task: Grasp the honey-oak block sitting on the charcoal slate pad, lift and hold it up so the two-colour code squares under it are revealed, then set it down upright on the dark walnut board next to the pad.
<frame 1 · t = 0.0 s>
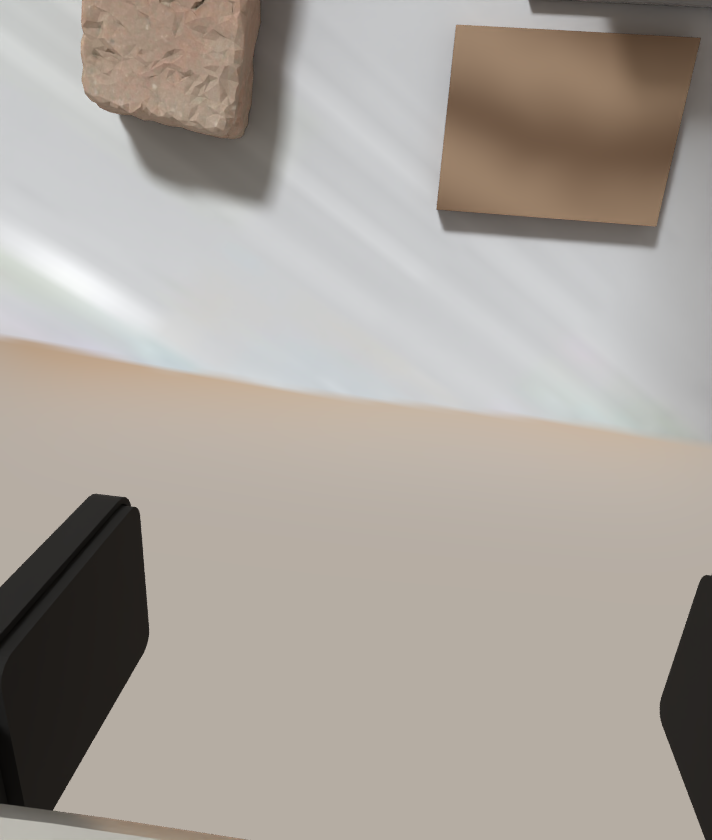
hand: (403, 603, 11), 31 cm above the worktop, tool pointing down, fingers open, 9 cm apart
walnut board: (556, 129, 36), on the worktop
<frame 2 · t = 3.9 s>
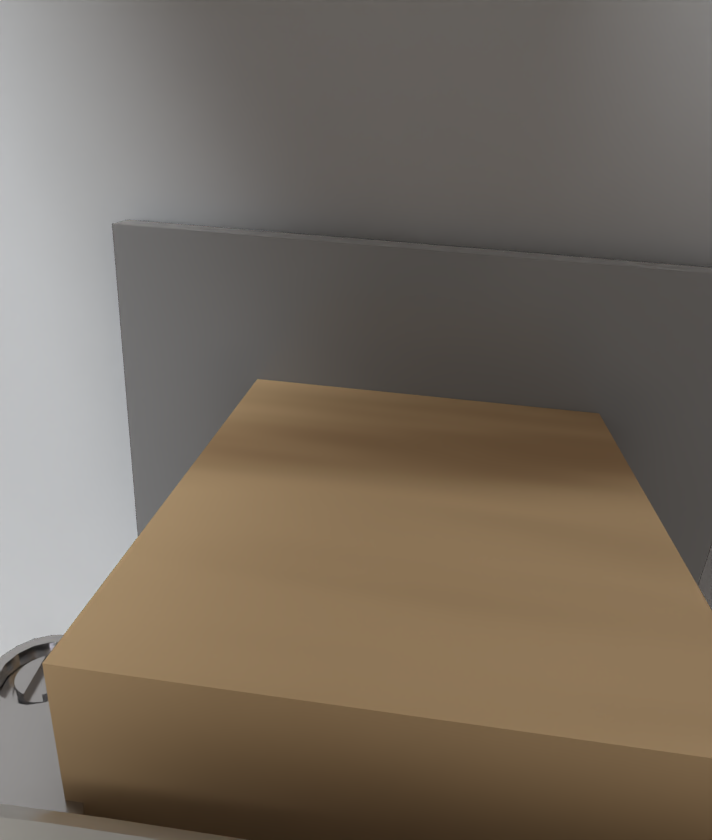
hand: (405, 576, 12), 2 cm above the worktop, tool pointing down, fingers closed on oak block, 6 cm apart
oak block: (408, 539, 13), point 1 cm above the worktop, touching code pad, gripper
code pad: (409, 522, 13), on the worktop
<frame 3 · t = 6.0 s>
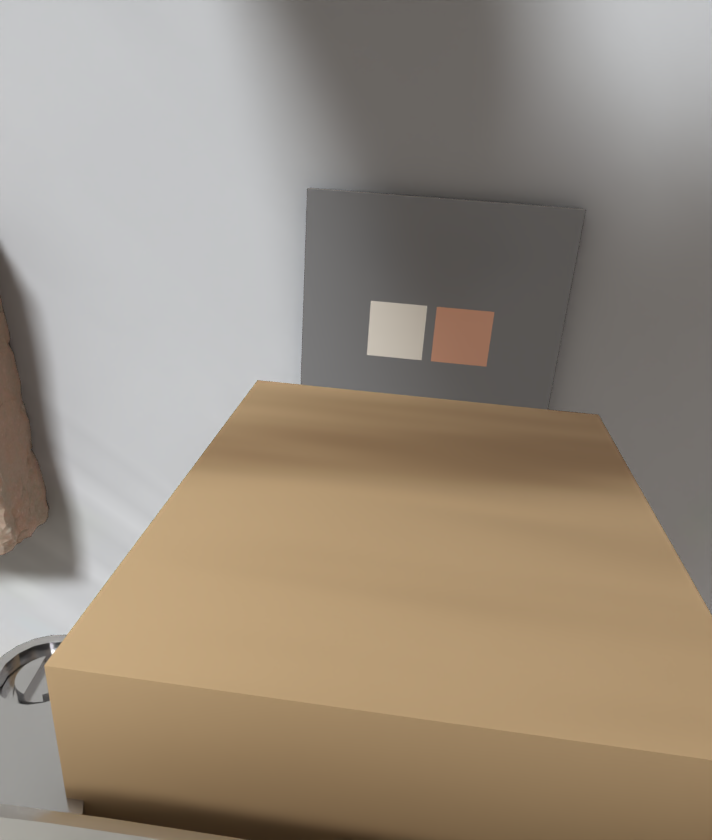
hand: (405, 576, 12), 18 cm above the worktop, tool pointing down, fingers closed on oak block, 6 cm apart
oak block: (408, 540, 13), point 17 cm above the worktop, touching gripper
code pad: (429, 330, 29), on the worktop
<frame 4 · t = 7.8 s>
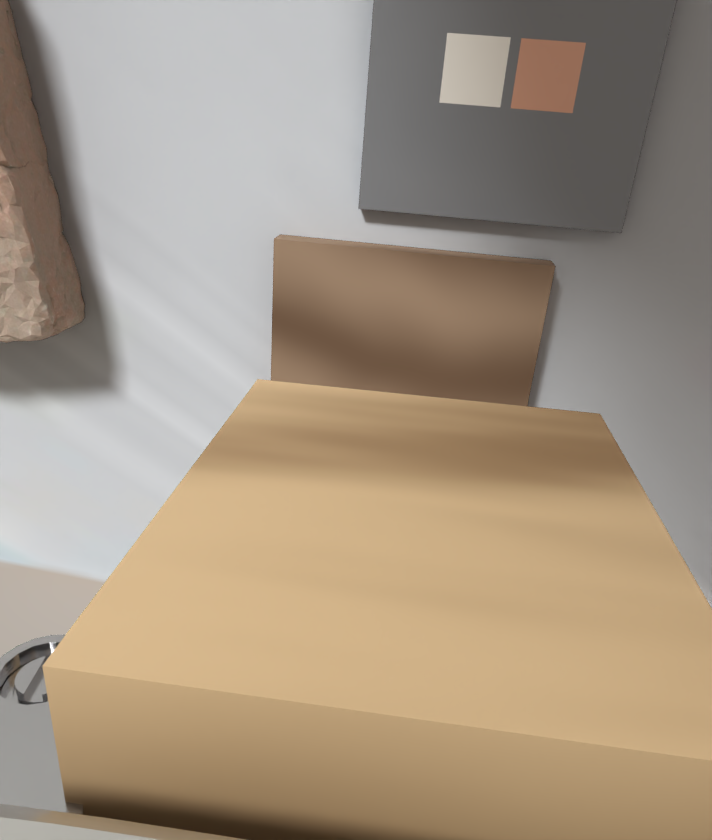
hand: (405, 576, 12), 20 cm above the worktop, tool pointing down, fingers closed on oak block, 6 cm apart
oak block: (409, 539, 13), point 19 cm above the worktop, touching gripper
code pad: (509, 74, 26), on the worktop
walnut board: (402, 344, 31), on the worktop
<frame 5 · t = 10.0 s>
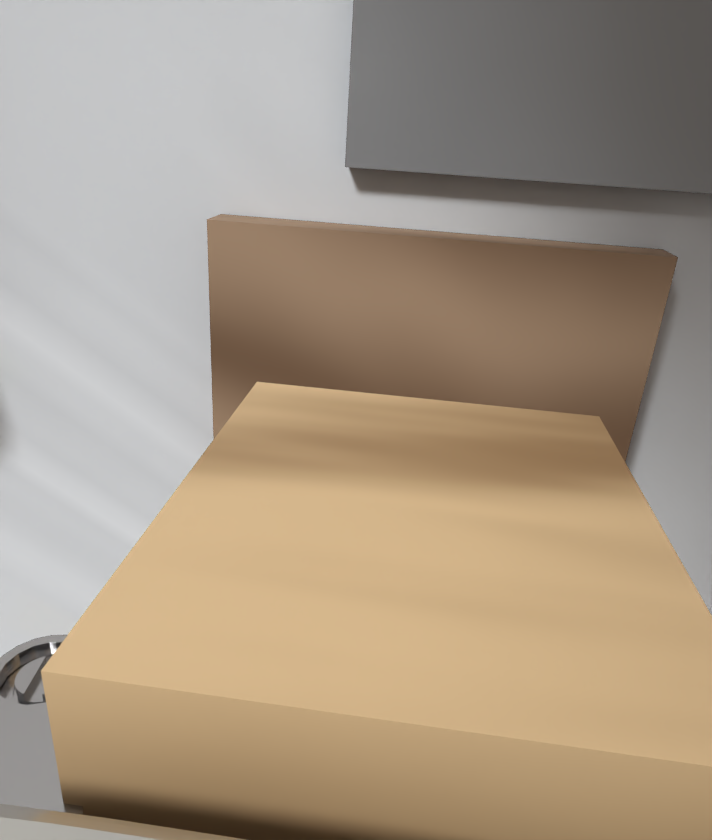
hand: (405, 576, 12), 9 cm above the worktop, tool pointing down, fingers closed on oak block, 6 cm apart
oak block: (408, 542, 13), point 8 cm above the worktop, touching gripper
walnut board: (419, 385, 20), on the worktop
when the fingers open (4 cm above the worktop, at t = 11.9 s): oak block drops 1 cm, resting on walnut board.
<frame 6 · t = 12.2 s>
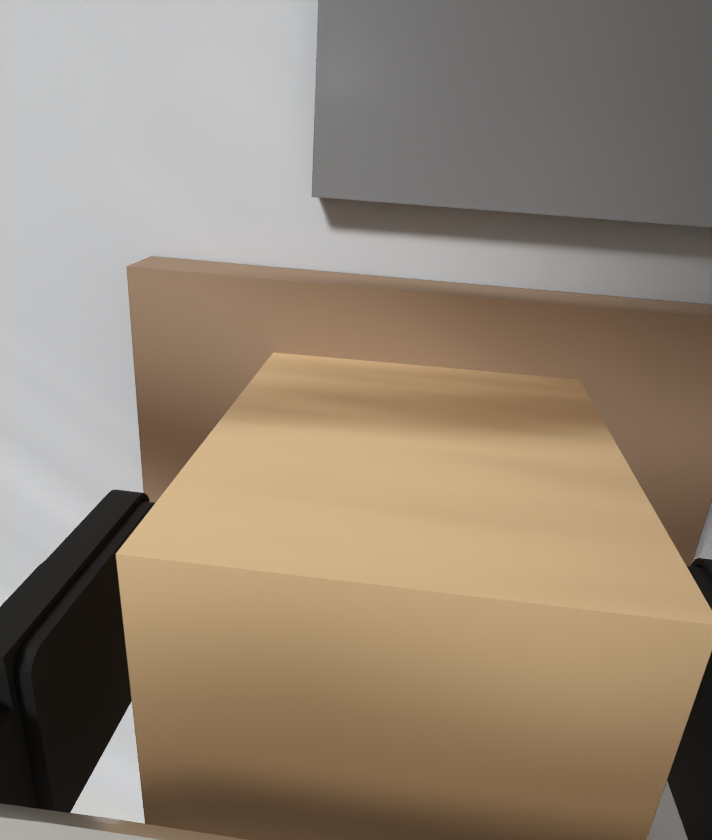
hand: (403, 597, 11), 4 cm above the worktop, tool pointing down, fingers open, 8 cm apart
oak block: (409, 498, 14), point 1 cm above the worktop, touching walnut board
walnut board: (413, 475, 15), on the worktop
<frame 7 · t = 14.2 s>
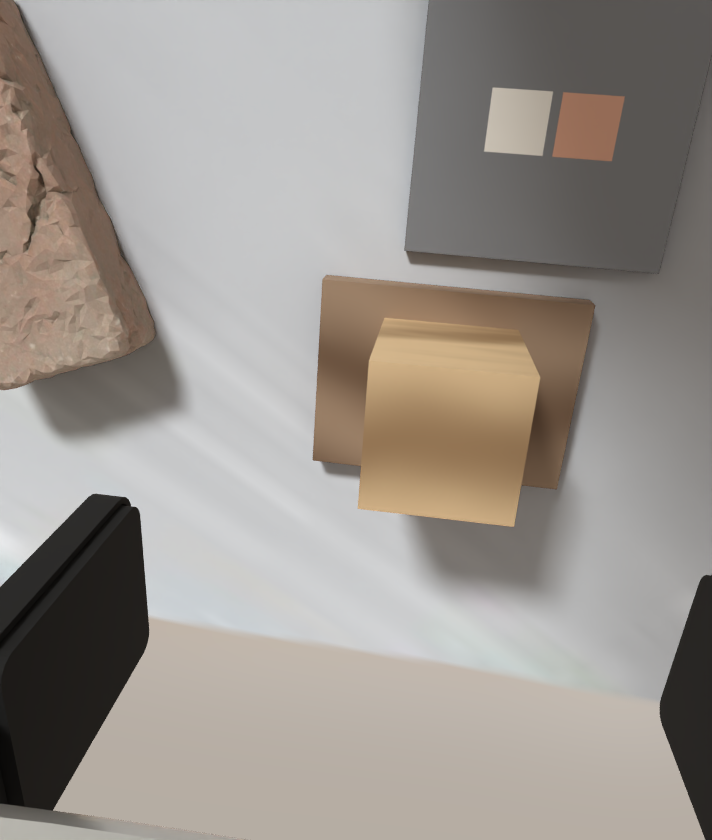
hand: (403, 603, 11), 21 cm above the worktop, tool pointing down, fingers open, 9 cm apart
brick: (26, 197, 32), on the worktop
oak block: (443, 386, 31), point 1 cm above the worktop, touching walnut board
code pad: (550, 125, 27), on the worktop
walnut board: (443, 380, 32), on the worktop
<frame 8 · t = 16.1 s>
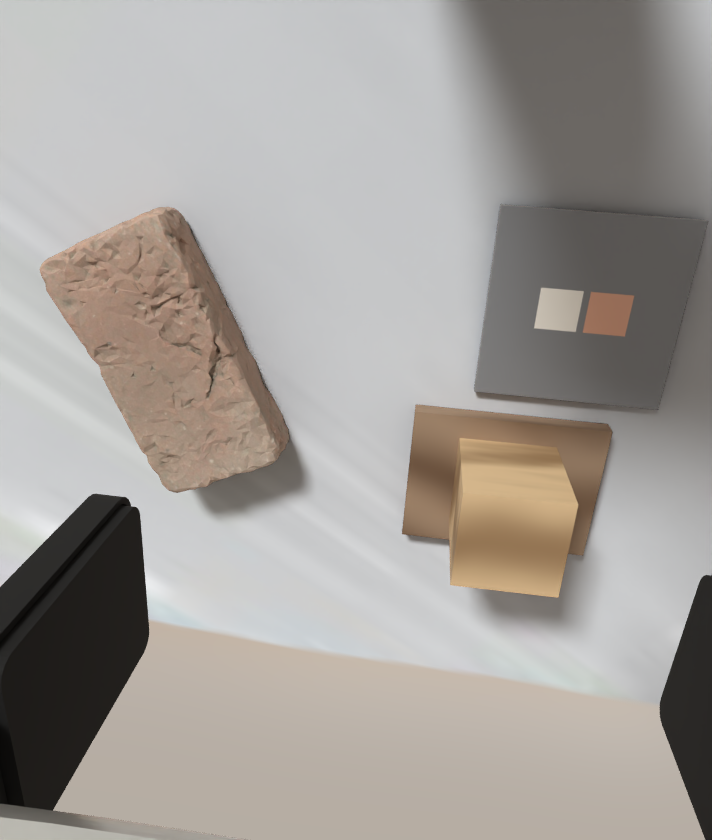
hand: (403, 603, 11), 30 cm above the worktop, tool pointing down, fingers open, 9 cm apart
brick: (190, 347, 43), on the worktop
oak block: (501, 484, 42), point 1 cm above the worktop, touching walnut board
code pad: (581, 309, 39), on the worktop
walnut board: (500, 477, 43), on the worktop
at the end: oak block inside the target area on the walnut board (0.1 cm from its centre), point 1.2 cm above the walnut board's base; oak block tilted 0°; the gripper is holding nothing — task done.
